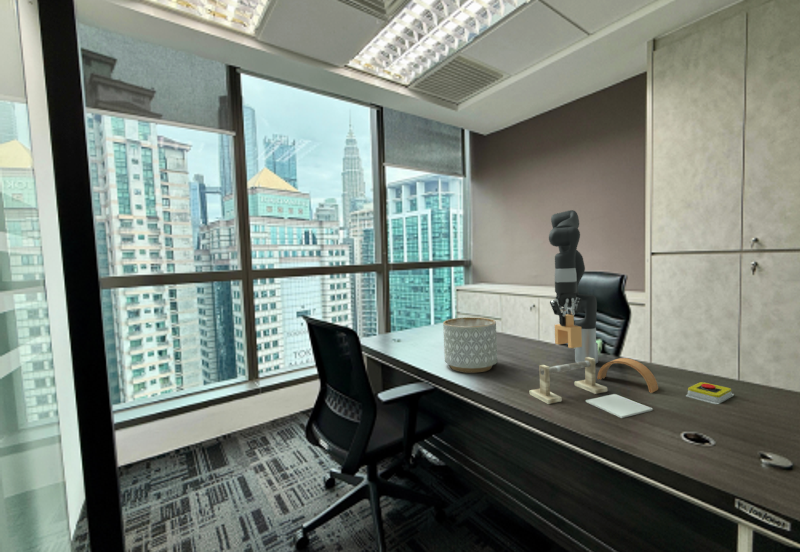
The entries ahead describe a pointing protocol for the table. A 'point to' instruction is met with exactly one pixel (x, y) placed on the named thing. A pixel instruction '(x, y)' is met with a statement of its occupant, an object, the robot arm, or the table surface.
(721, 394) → the emergency button
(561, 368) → the rail stand
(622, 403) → the mat
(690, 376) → the table surface
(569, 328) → the wooden bridge block
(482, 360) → the planter
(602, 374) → the arch
